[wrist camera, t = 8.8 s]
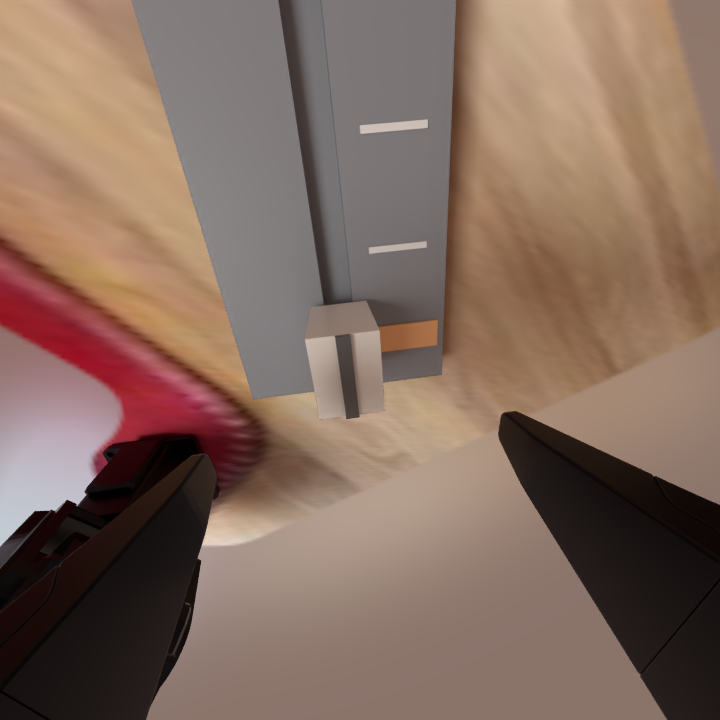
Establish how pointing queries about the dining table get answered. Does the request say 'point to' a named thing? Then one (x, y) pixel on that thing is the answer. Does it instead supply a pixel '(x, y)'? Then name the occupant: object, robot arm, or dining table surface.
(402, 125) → the console
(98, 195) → the dining table surface
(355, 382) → the fader knob
